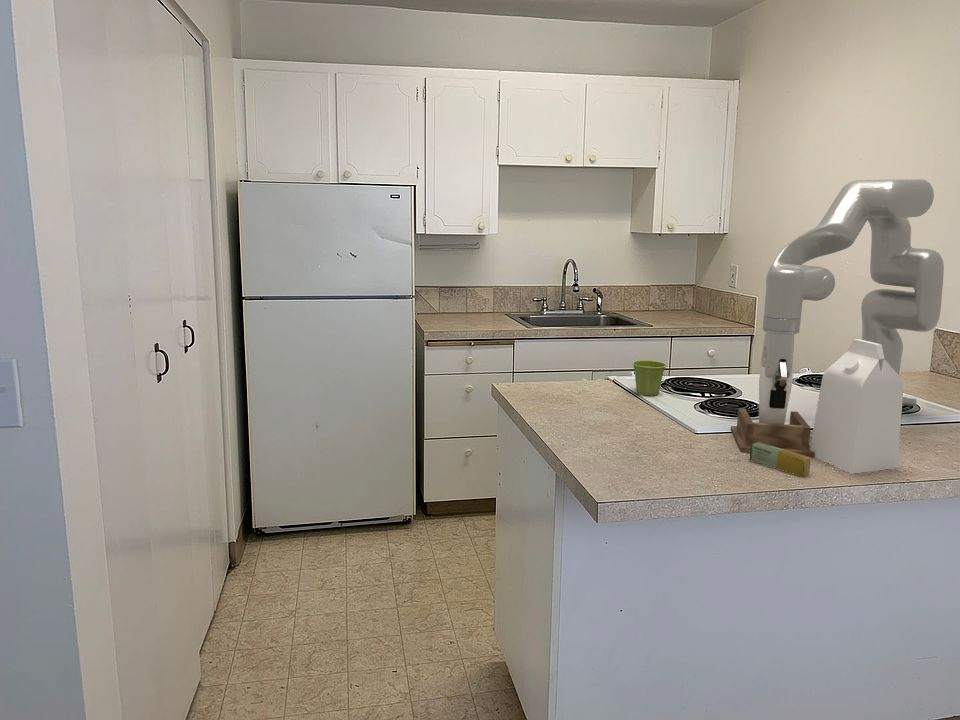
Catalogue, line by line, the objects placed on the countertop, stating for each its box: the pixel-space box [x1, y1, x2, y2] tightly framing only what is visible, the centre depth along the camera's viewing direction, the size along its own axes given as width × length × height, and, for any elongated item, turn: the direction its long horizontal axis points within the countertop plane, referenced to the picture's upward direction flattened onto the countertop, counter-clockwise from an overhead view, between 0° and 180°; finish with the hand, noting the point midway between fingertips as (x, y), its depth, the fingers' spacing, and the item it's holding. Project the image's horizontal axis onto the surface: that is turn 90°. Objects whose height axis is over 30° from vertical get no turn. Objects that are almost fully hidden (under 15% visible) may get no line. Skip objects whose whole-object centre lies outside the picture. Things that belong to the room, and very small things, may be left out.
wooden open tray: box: [730, 407, 815, 458], centre depth 162 cm, size 15×16×6 cm
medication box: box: [749, 441, 812, 478], centre depth 147 cm, size 12×3×4 cm, turn 38°
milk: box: [809, 338, 904, 475], centre depth 149 cm, size 12×12×26 cm
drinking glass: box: [758, 364, 794, 424], centre depth 162 cm, size 7×7×15 cm
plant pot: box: [631, 359, 667, 397], centre depth 203 cm, size 9×9×9 cm
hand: (773, 402), depth 162 cm, fingers closed on drinking glass, 6 cm apart
